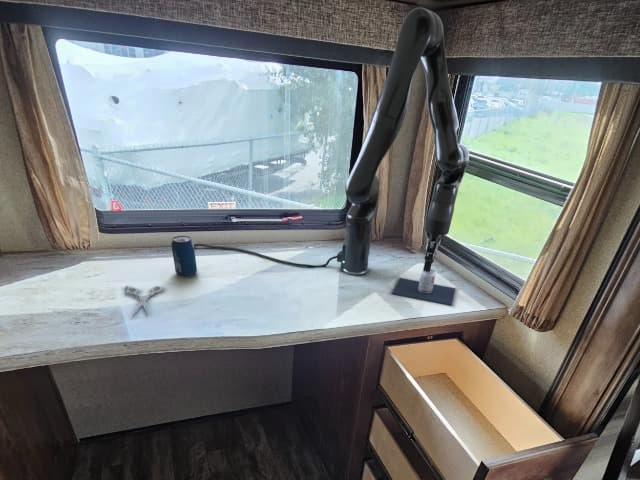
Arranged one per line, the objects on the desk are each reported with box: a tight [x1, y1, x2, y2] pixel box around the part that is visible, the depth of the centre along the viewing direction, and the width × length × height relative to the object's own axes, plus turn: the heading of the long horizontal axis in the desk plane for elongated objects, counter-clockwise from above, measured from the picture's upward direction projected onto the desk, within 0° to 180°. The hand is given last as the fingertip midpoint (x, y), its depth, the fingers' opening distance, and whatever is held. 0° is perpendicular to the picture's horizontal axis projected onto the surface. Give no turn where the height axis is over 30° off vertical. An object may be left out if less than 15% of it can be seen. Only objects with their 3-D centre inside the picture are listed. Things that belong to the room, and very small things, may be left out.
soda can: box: [170, 235, 198, 278], centre depth 142 cm, size 7×7×12 cm
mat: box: [391, 277, 456, 307], centre depth 148 cm, size 20×14×1 cm
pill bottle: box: [418, 264, 437, 293], centre depth 145 cm, size 5×5×8 cm
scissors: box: [125, 285, 163, 316], centre depth 127 cm, size 11×1×20 cm
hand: (428, 266), depth 143 cm, fingers open, 8 cm apart
